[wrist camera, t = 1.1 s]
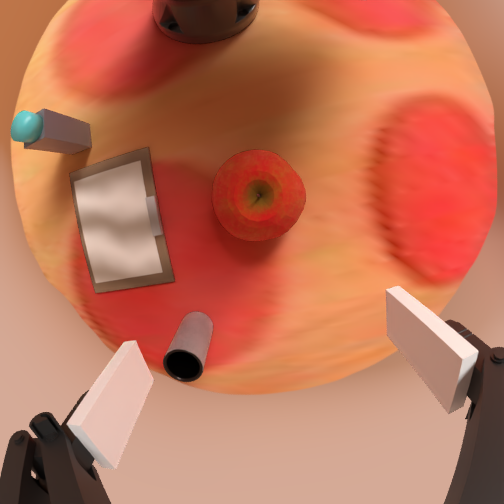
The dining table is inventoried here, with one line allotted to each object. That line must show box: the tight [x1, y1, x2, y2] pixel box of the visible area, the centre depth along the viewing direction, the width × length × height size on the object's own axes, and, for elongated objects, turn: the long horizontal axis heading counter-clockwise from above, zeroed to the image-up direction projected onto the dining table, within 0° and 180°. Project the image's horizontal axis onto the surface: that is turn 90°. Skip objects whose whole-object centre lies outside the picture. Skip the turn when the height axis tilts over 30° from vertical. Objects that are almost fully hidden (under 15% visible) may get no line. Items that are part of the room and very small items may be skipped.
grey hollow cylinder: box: [163, 312, 213, 382], centre depth 34 cm, size 4×4×10 cm
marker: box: [11, 109, 92, 155], centre depth 27 cm, size 4×4×14 cm
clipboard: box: [69, 147, 175, 293], centre depth 35 cm, size 18×13×1 cm
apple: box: [212, 149, 306, 241], centre depth 30 cm, size 10×10×10 cm
